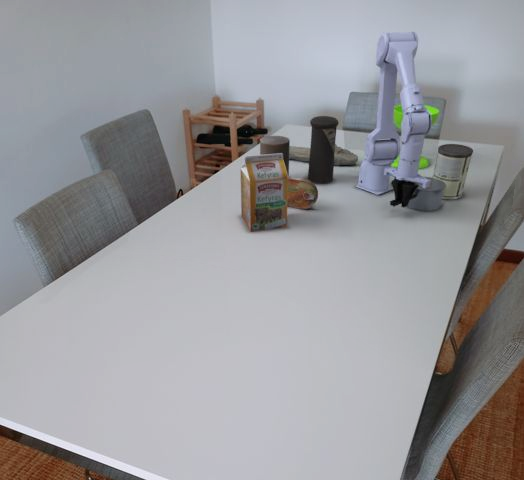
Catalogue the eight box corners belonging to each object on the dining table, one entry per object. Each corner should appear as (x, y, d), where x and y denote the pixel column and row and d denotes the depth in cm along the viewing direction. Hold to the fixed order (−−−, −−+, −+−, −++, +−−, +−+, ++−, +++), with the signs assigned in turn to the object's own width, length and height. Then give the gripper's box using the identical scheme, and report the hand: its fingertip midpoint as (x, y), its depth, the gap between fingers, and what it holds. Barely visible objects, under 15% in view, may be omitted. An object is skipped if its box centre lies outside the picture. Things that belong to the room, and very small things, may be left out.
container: (331, 185, 170) (337, 121, 157) (305, 183, 171) (308, 120, 159) (334, 176, 176) (340, 114, 164) (308, 174, 178) (312, 113, 165)
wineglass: (376, 158, 192) (383, 106, 180) (410, 152, 197) (419, 102, 186) (402, 171, 180) (411, 117, 169) (438, 165, 186) (449, 112, 174)
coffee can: (426, 187, 169) (435, 143, 160) (458, 188, 168) (469, 144, 159) (431, 199, 161) (441, 153, 152) (465, 200, 160) (476, 154, 151)
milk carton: (250, 231, 142) (249, 162, 130) (241, 216, 150) (240, 150, 138) (286, 227, 144) (288, 159, 132) (275, 212, 152) (277, 147, 140)
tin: (269, 202, 158) (270, 175, 153) (274, 199, 160) (274, 172, 155) (314, 211, 153) (316, 184, 147) (318, 208, 155) (320, 180, 150)
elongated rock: (272, 153, 200) (263, 162, 193) (271, 139, 196) (262, 148, 190) (360, 159, 189) (354, 169, 182) (361, 144, 185) (355, 154, 178)
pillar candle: (288, 187, 168) (290, 140, 159) (259, 186, 169) (259, 139, 159) (288, 176, 176) (289, 131, 167) (260, 176, 176) (260, 130, 167)
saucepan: (374, 211, 153) (378, 186, 148) (417, 193, 164) (422, 170, 160) (406, 224, 146) (411, 198, 141) (448, 204, 157) (454, 180, 153)
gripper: (380, 154, 144) (373, 201, 153) (423, 168, 136) (413, 216, 144) (395, 149, 148) (388, 195, 156) (438, 162, 139) (428, 209, 148)
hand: (401, 205), depth 150 cm, fingers closed on saucepan
